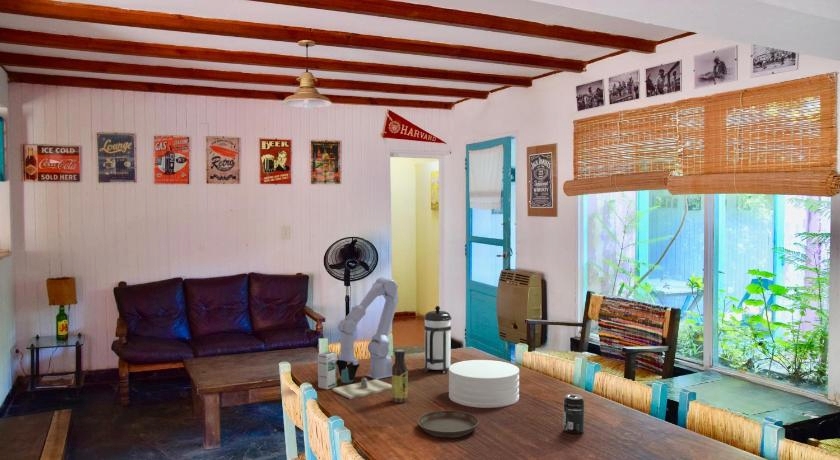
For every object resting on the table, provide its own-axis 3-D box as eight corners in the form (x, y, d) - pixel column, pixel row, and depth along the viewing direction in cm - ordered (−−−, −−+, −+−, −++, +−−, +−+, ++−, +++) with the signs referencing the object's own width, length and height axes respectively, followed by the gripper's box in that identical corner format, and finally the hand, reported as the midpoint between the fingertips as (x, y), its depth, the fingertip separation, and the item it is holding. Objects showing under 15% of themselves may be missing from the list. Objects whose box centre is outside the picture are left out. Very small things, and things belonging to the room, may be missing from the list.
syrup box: (327, 389, 259) (327, 355, 258) (317, 387, 262) (317, 353, 262) (337, 386, 263) (337, 352, 263) (327, 384, 267) (327, 350, 266)
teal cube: (349, 379, 274) (349, 367, 274) (355, 381, 271) (354, 370, 270) (339, 381, 271) (339, 369, 271) (345, 383, 268) (345, 372, 267)
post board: (376, 381, 271) (376, 370, 271) (395, 388, 260) (395, 376, 260) (332, 390, 257) (332, 378, 257) (350, 398, 246) (350, 386, 246)
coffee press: (414, 368, 293) (414, 304, 292) (444, 364, 299) (444, 302, 298) (430, 377, 277) (430, 310, 276) (461, 373, 284) (462, 307, 283)
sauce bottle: (405, 403, 240) (405, 352, 239) (389, 402, 241) (389, 352, 241) (409, 398, 246) (409, 349, 246) (394, 397, 248) (393, 348, 247)
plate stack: (437, 401, 244) (437, 372, 243) (465, 383, 268) (465, 357, 268) (504, 412, 231) (505, 381, 230) (528, 392, 255) (528, 364, 255)
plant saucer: (428, 443, 200) (428, 433, 200) (411, 422, 220) (411, 413, 220) (487, 437, 206) (487, 427, 206) (465, 416, 226) (465, 407, 226)
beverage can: (568, 426, 216) (569, 391, 215) (587, 430, 211) (587, 395, 211) (559, 431, 210) (560, 396, 210) (578, 436, 206) (579, 400, 206)
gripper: (330, 345, 274) (330, 376, 274) (347, 351, 262) (348, 383, 263) (344, 343, 278) (344, 373, 279) (362, 349, 267) (362, 380, 267)
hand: (347, 378), depth 271 cm, fingers open, 7 cm apart
